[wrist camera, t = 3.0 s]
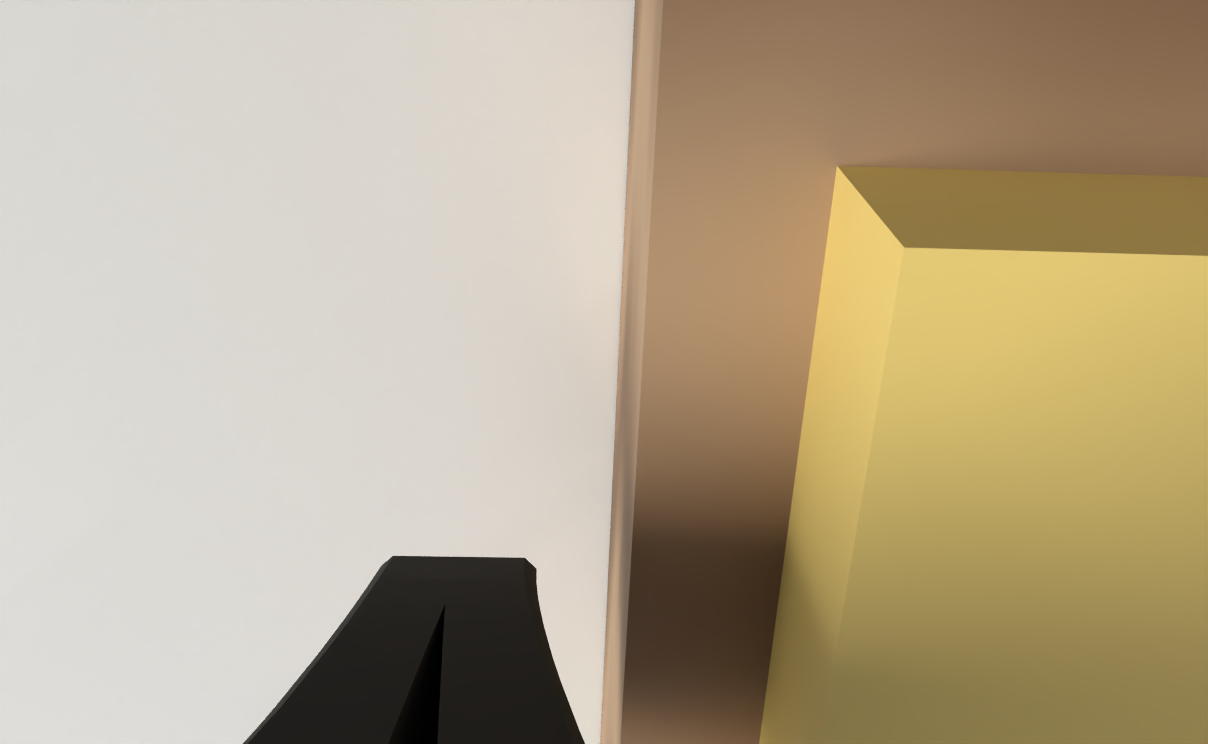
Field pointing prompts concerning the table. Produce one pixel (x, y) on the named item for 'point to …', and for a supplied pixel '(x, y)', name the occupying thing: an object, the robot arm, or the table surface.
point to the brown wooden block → (810, 270)
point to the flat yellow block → (1001, 466)
